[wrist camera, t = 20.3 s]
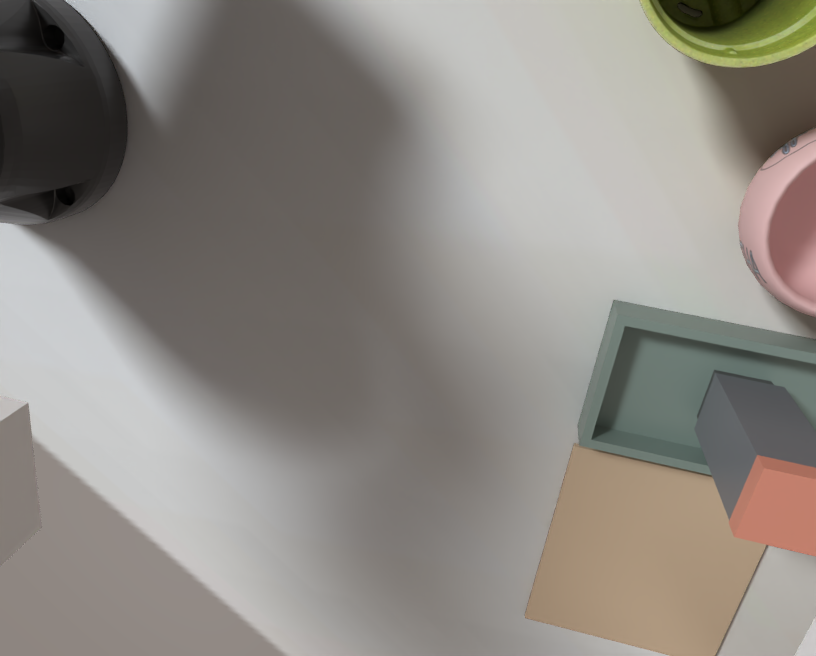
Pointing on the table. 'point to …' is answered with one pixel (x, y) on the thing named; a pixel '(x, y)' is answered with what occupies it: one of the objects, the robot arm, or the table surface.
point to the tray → (680, 380)
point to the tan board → (641, 556)
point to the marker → (760, 460)
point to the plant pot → (736, 29)
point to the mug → (784, 224)
